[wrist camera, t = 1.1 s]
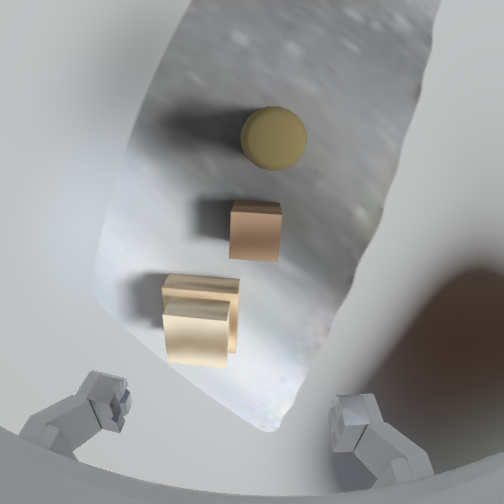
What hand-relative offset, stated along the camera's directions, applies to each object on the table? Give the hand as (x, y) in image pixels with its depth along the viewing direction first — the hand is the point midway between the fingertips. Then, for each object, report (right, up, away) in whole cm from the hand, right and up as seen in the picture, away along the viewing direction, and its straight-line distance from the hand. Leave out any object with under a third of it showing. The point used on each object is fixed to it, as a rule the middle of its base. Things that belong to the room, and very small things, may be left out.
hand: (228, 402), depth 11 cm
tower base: (-5, -1, +30) cm, 31 cm away
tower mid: (-5, -3, +26) cm, 27 cm away
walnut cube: (+1, +9, +25) cm, 27 cm away
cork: (+3, +18, +21) cm, 28 cm away
